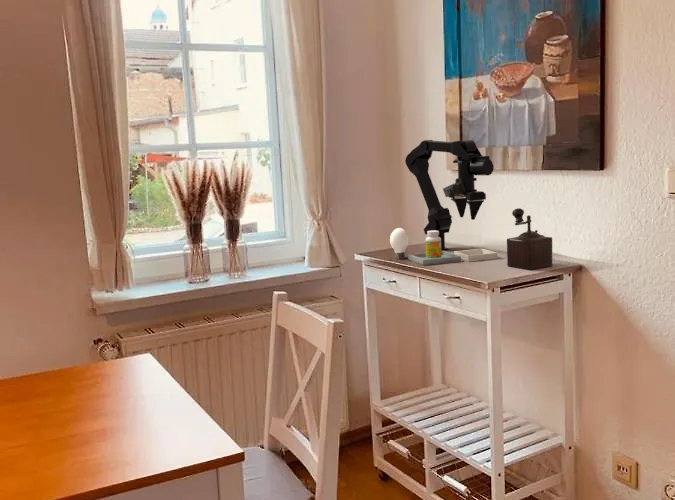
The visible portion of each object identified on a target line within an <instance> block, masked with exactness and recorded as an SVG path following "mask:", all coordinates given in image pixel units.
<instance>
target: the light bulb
mask: <svg viewBox="0 0 675 500" xmlns="http://www.w3.org/2000/svg"><path fill="white" fill-rule="evenodd" d="M409 241H410V239H409V235H408V232H407V231H406V230H405V229H404V228H402V227H397V228H395V229H394V230H393V231H392V232H391V234H390V236H389V243H390V246H391V247H392V249H393V250H394V254H395V259H396V260H403V259H405V258H406V250H407V248H408V245H409V243H410V242H409Z"/></svg>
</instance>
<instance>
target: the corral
mask: <svg viewBox="0 0 675 500" xmlns="http://www.w3.org/2000/svg"><path fill="white" fill-rule="evenodd" d="M453 254H455V255H458V256H461V261H465V262H470V263H471V262H477V261H488V260H497V259H499V257H498V256H499V253H498V252H496V251H494V250H489V249H485V248H473V249H465V250H454V251H453Z"/></svg>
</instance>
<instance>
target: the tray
mask: <svg viewBox="0 0 675 500" xmlns="http://www.w3.org/2000/svg"><path fill="white" fill-rule="evenodd" d="M407 259H408V260H409V261H412V262H414V263H416V264H418V265H421V266H429V265H430V266H431V265H440V264H449V263H459V262H461V261H462V259H461V256H458V255H455V254H454V253H452V252H449V251H447V250H441V258H434V259H426V252H417V253H408V254H407Z"/></svg>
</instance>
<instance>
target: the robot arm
mask: <svg viewBox="0 0 675 500" xmlns="http://www.w3.org/2000/svg"><path fill="white" fill-rule="evenodd" d="M433 152H440V153H450V154H451V155H453V156H455V157H456V158H455V159H454V160H453V161H452V163H453V164H457V175H458V176H457V178H455V179H454V181H455V182H454V183H452V184H450V185H448V186H446V187H443V188H442V190H443V194H444V196H445V198H447V197H448V198H450V200H451V201H452V202H453V203H454V204H455V205H456V209H457V211H458V215H459V217H460V218H464V216H465V212H466V208H467V205H468V206H469V207H468V208H469V212H470V213H469V214H470V219H471V220H472V221H473V220H475V219H476V217H477V214H478V213H479V211H480V208H481V206H482V205H483V203H484V202H485V200H486V199H487V194H486V193H485V192H484V191H481V190H477V189H476V188H475V187H476V186H475V182H477V180H478V179H477V177H475V176H491V175H492V174H493V172H494V169H495V168H494V164H493V161H492V159H490V155H483V154H482V152H481V151H480V150H479V148H478V147H477V145H476V142H475V140H473V139H467V140H466V139H464V140H456V141H443V140H441V141H439V140H433V139H425V140H423V141H421V142H420V143H419V145H417V146H416V147H414V148H413V149H412V150H411V151H410V152H409V153H408V154H407V155H406V157H405V159H404V160H405V161H404V162H405V165H406V167H407V169H408V171H409V172H410V173H411V174H412V175H413V176H414V177H415V178H416V181H417V183H418V186H419V188H420V191H421V193H422V196H423V198H424V201H425V202H424V203H425V204H426V207H427V210H428V213H427V220H428V222H427V224H426V225H425V227H424V228H423V231H424V235H427V231H432V230H436V231H439V235H438V237H440V238H441V251H447V250H449V247H446V241H445V240H446V239H445V235H446V234H448V233H449V232H450V229H451V226H452V223H453V221H452V220H453V219H452V218H453V216H452V214H451V213H450V209H449V208H448V207H443V206H442V205H441V202H440V200H439V197H438V194H437V191H436V189H435V186H434V185H433V182H432V178H431V176H430V173H429V168H430V163H429V160H430V159H431V158H432V155H433ZM427 236H428V235H427Z"/></svg>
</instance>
